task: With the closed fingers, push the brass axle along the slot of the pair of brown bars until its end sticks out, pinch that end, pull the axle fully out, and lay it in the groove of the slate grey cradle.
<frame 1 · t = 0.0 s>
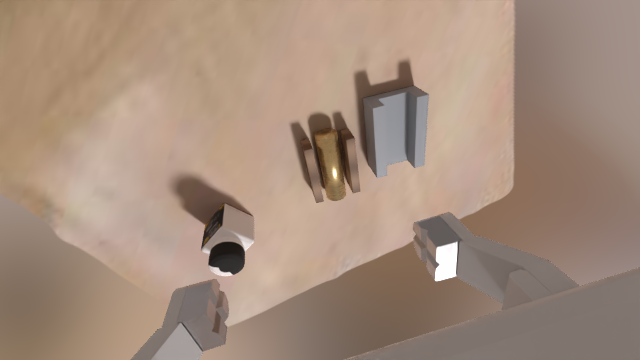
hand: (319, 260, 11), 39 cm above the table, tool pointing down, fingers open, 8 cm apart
pair of brown bars: (329, 161, 55), on the table
axle: (331, 166, 54), point 2 cm above the table
cradle: (389, 127, 54), on the table
medicine bottle: (230, 220, 59), on the table
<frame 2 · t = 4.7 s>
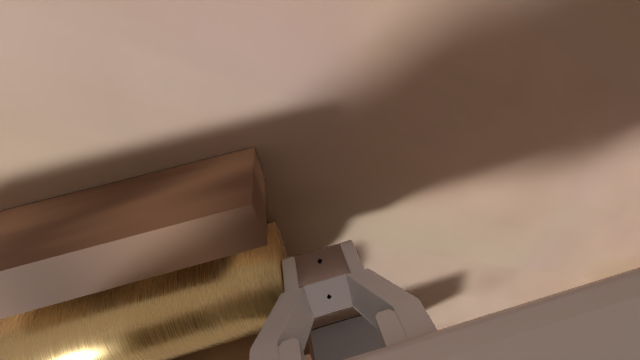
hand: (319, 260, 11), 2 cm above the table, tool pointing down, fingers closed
pair of brown bars: (154, 269, 13), on the table
axle: (112, 318, 11), point 2 cm above the table, tilted 6°, touching gripper
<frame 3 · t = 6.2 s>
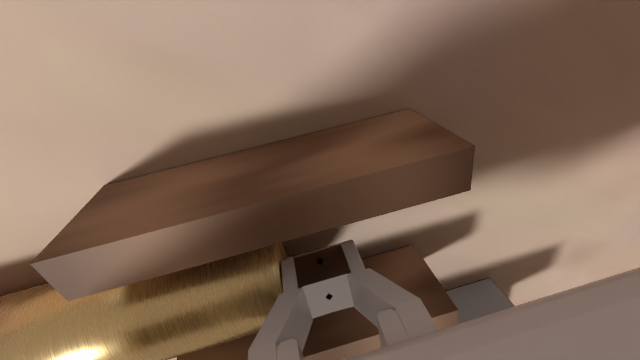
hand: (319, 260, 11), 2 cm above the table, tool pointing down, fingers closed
pair of brown bars: (290, 232, 13), on the table
axle: (112, 318, 11), point 2 cm above the table, tilted 6°, touching gripper
cradle: (388, 351, 20), on the table
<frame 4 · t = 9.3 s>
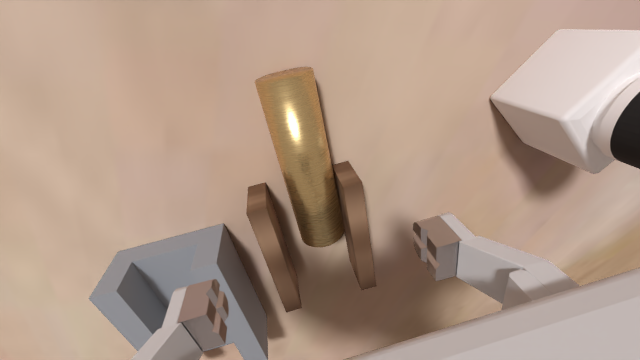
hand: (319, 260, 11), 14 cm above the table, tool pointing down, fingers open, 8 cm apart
pair of brown bars: (312, 226, 28), on the table
axle: (306, 165, 23), point 2 cm above the table, tilted 24°
cradle: (202, 288, 29), on the table
medicine bottle: (536, 90, 26), on the table
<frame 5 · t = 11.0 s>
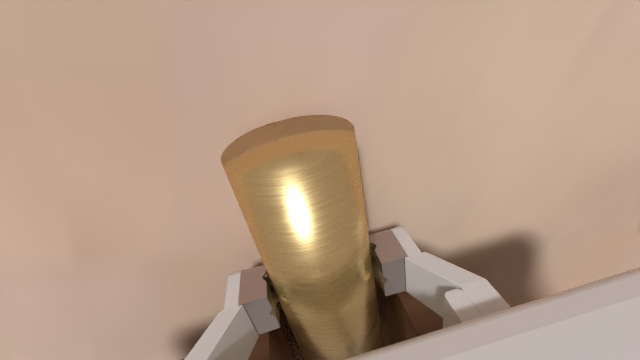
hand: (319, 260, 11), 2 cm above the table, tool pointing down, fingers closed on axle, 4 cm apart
pair of brown bars: (342, 343, 17), on the table
axle: (328, 290, 12), point 2 cm above the table, touching gripper
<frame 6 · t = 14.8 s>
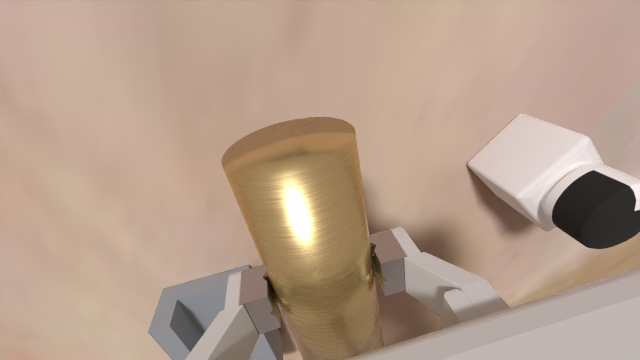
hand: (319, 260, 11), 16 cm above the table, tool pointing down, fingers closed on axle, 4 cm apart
axle: (328, 292, 12), point 16 cm above the table, touching gripper
cradle: (229, 314, 35), on the table
medicine bottle: (505, 155, 31), on the table
when the fingers open (6 cm above the table, at t = 18.7 s): axle drops 2 cm, resting on cradle.
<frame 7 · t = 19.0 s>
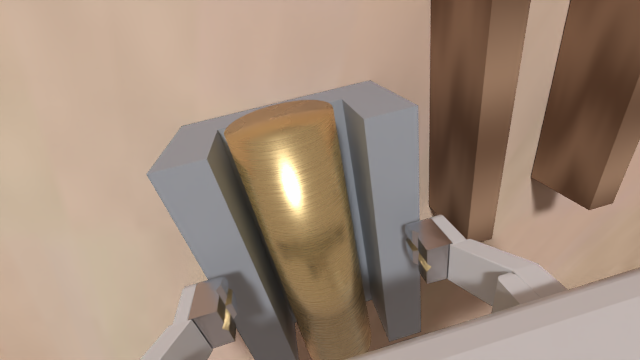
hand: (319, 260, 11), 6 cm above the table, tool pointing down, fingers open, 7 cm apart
pair of brown bars: (503, 102, 16), on the table
axle: (316, 254, 14), point 4 cm above the table, touching cradle
cradle: (307, 213, 18), on the table
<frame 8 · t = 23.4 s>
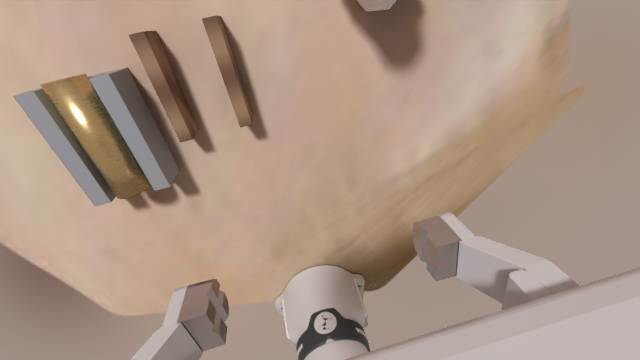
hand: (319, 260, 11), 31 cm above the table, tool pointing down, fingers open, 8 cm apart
pair of brown bars: (202, 78, 36), on the table
axle: (102, 140, 33), point 4 cm above the table, touching cradle
cradle: (119, 132, 37), on the table
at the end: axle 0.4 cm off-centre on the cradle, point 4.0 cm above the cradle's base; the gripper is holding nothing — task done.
